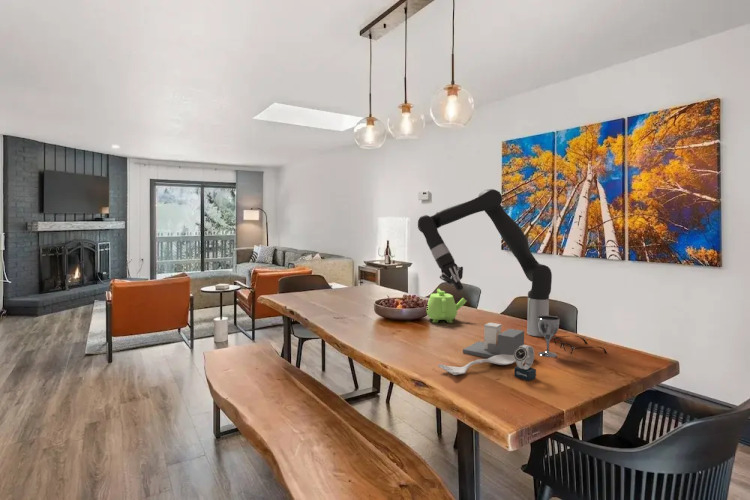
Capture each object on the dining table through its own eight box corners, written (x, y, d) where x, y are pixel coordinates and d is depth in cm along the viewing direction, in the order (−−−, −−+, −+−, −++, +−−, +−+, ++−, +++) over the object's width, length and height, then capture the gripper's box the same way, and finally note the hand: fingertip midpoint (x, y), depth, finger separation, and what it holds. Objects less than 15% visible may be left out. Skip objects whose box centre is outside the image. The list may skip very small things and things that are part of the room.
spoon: (437, 373, 151) (437, 363, 151) (504, 357, 165) (504, 348, 165) (453, 381, 143) (453, 371, 143) (522, 364, 157) (522, 355, 157)
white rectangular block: (483, 348, 172) (484, 324, 171) (489, 345, 176) (489, 322, 175) (496, 351, 168) (496, 326, 168) (501, 348, 173) (501, 324, 172)
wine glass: (548, 358, 164) (549, 320, 163) (532, 353, 171) (533, 316, 170) (562, 355, 168) (563, 318, 167) (546, 350, 175) (547, 314, 174)
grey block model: (462, 352, 172) (463, 329, 172) (478, 344, 184) (479, 322, 183) (511, 363, 160) (511, 338, 159) (525, 353, 172) (525, 330, 171)
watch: (510, 377, 145) (511, 346, 144) (524, 372, 150) (525, 341, 149) (525, 382, 141) (526, 350, 140) (538, 377, 145) (539, 345, 145)
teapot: (470, 325, 218) (471, 294, 217) (428, 325, 218) (429, 294, 217) (461, 314, 243) (461, 287, 242) (424, 314, 243) (424, 287, 242)
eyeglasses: (551, 344, 185) (551, 335, 185) (585, 343, 186) (585, 334, 186) (572, 356, 168) (572, 346, 168) (609, 355, 170) (610, 345, 170)
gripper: (435, 256, 184) (454, 292, 180) (457, 248, 191) (476, 282, 187) (427, 263, 190) (445, 297, 187) (448, 254, 197) (466, 288, 193)
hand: (460, 290), depth 187 cm, fingers closed
